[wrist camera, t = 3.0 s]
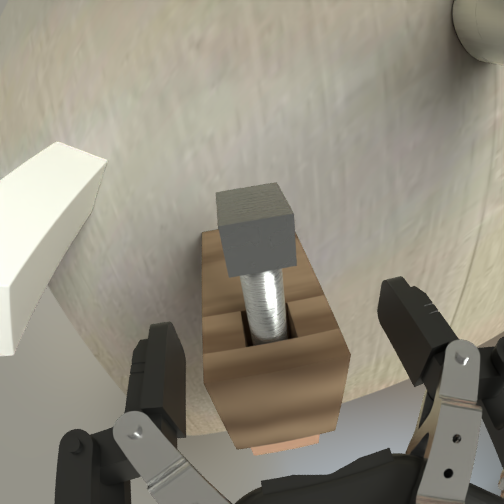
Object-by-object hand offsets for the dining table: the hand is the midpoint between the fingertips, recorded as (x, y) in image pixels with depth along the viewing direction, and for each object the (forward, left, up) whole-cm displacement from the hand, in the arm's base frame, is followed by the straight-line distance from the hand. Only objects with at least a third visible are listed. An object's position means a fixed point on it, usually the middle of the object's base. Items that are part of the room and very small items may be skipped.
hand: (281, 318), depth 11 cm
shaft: (+13, 0, -9) cm, 16 cm away
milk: (-2, -16, -21) cm, 26 cm away
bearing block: (+13, 0, -21) cm, 25 cm away
